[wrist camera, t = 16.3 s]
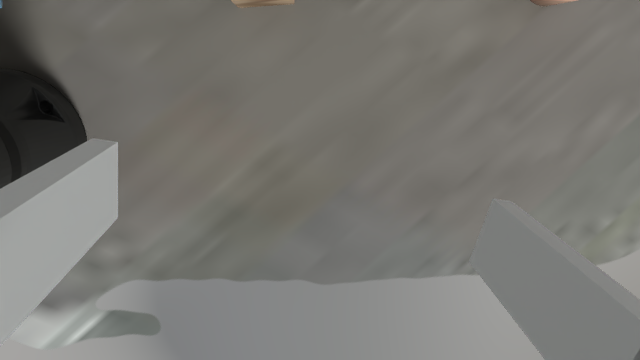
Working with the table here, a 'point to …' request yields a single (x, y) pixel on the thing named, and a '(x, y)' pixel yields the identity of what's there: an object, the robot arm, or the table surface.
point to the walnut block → (260, 3)
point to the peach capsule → (549, 2)
